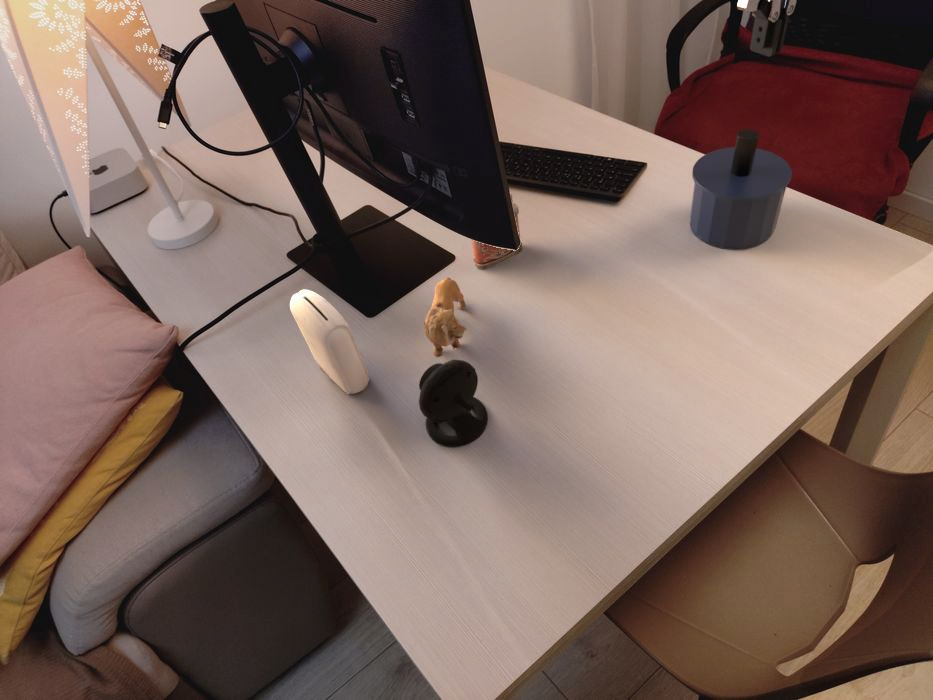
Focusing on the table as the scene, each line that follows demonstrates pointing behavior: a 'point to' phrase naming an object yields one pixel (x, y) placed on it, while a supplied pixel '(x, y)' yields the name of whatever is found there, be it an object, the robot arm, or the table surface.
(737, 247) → the tin
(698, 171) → the lid
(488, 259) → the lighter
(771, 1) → the robot arm
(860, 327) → the table surface
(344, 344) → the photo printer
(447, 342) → the lion figurine
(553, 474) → the table surface
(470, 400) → the webcam
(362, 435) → the table surface
